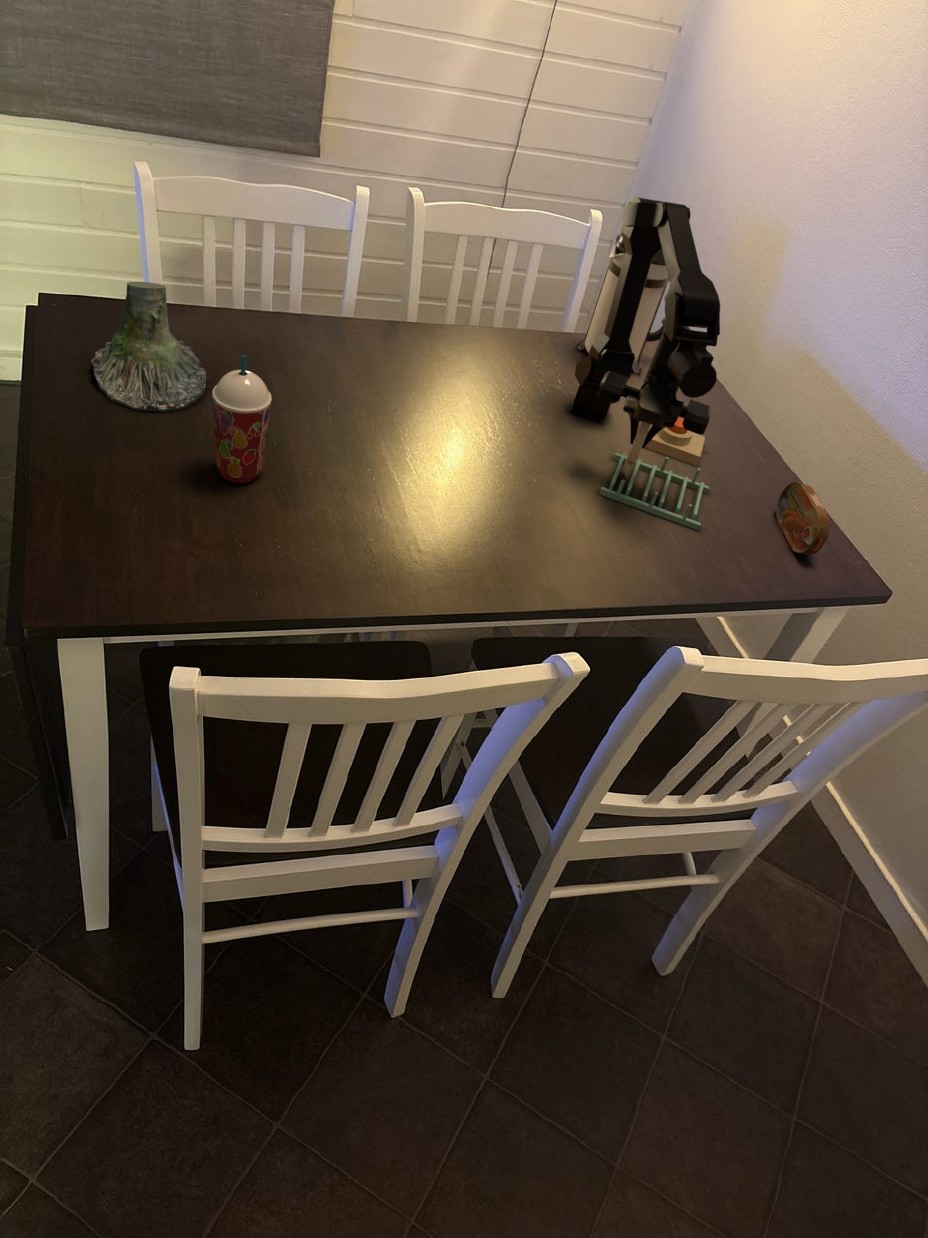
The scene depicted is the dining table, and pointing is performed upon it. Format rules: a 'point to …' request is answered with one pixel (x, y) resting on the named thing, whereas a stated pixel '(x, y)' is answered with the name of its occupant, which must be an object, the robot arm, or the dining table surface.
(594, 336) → the coffee press
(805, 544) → the tin
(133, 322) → the tree stump
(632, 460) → the plate
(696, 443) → the panel
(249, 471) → the smoothie
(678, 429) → the button
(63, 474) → the dining table surface
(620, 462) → the rack
